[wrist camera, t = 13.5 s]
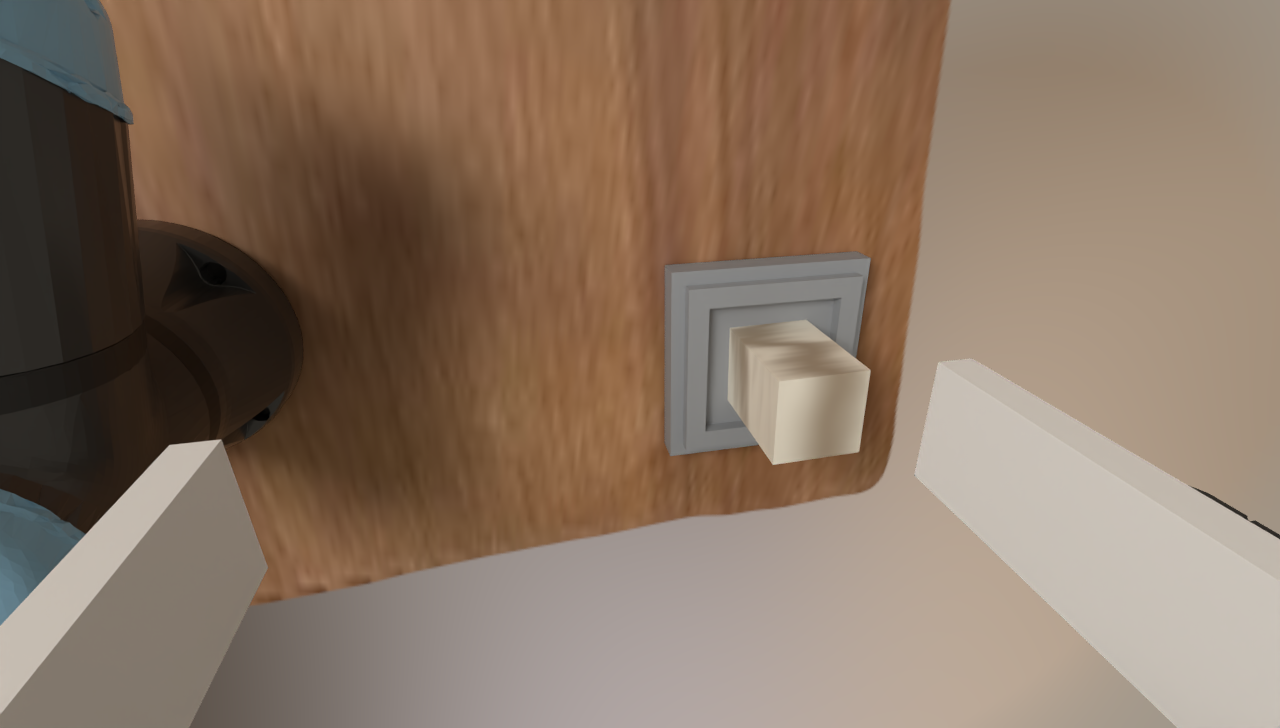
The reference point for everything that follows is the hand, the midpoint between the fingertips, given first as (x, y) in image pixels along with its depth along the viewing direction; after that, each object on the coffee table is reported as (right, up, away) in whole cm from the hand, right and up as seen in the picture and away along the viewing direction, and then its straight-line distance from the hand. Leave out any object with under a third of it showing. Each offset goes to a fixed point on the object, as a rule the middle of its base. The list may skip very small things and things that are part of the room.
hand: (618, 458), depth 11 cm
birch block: (+10, +2, +35) cm, 36 cm away
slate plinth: (+10, +3, +36) cm, 38 cm away
